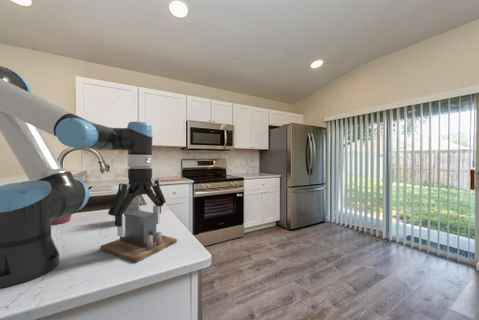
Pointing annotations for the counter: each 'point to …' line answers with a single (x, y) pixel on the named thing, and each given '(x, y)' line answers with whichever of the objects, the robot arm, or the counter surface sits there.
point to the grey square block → (139, 227)
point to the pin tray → (137, 252)
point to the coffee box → (133, 204)
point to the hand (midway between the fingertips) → (140, 229)
